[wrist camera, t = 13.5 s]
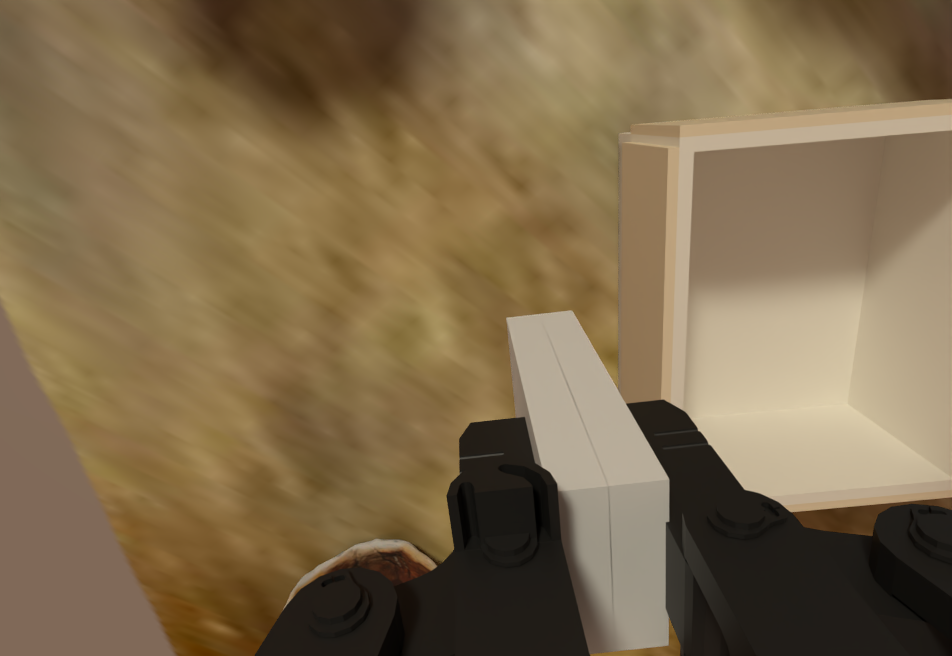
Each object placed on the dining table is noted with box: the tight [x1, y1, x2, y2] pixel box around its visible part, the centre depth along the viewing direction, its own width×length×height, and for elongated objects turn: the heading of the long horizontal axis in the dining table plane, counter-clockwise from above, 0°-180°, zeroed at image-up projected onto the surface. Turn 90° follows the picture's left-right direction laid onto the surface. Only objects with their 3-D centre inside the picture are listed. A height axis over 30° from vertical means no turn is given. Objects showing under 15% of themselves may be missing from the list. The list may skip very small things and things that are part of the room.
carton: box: [618, 99, 952, 512], centre depth 41 cm, size 25×21×12 cm
